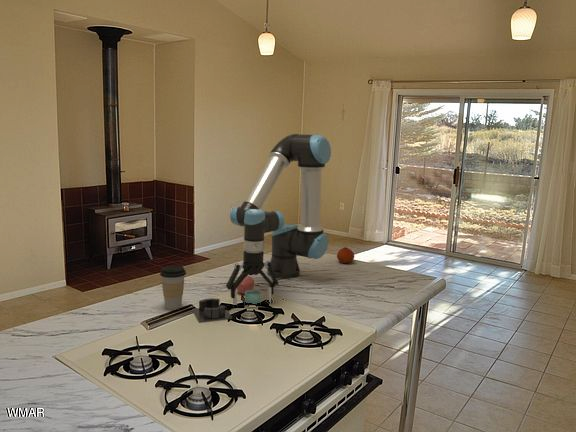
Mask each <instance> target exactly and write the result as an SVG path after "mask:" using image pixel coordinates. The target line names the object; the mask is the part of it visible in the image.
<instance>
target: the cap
mask: <svg viewBox="0 0 576 432" xmlns="http://www.w3.org/2000/svg"><path fill="white" fill-rule="evenodd" d="M261 294H262V293H261V291H260V290H258V289H252V290H247V291H245V294H244V303H245V302H246V303H252V304H257V303H260V304H261Z"/></svg>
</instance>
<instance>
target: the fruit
mask: <svg viewBox="0 0 576 432" xmlns="http://www.w3.org/2000/svg"><path fill="white" fill-rule="evenodd" d="M336 258H337V261H339V262H340V263H341V264H350V263H352V262H353V261H354V259H355V253H354V251H352V249H350V248H348V247H342V248H339V250H338V252H337V254H336Z"/></svg>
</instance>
